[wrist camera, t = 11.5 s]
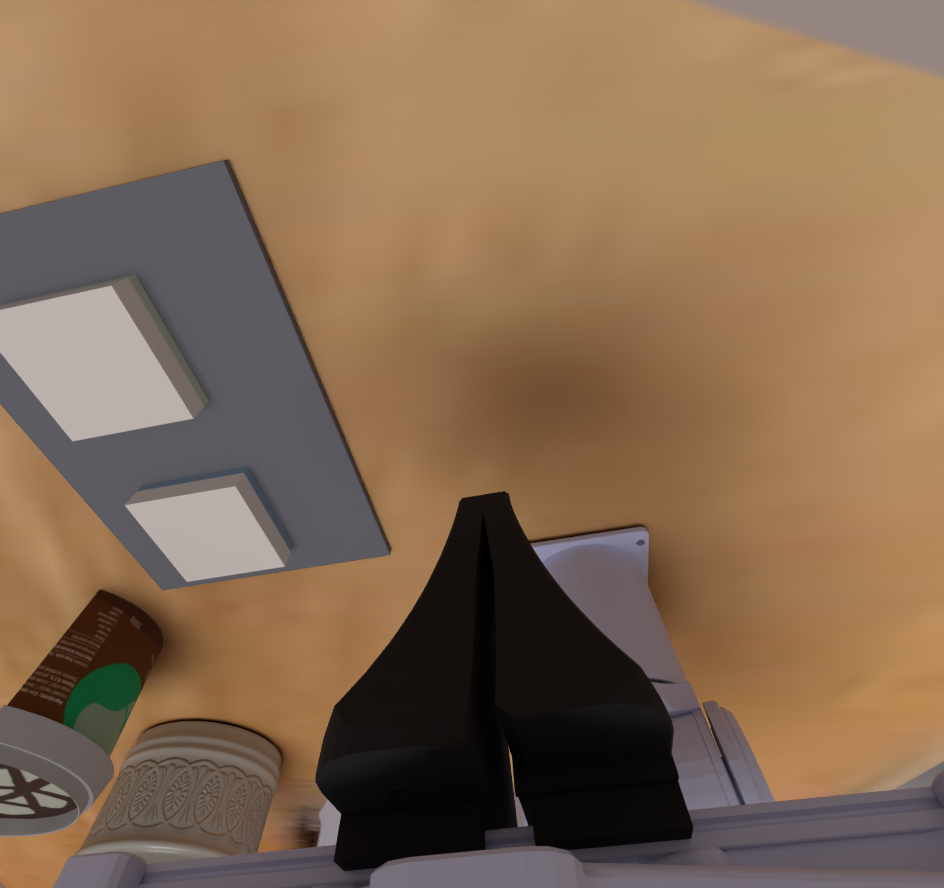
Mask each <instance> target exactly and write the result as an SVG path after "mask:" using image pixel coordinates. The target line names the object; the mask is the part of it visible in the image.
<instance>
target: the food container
mask: <svg viewBox="0 0 944 888" xmlns="http://www.w3.org/2000/svg"><path fill="white" fill-rule="evenodd" d="M162 645H163V637H162V633H161V631H160V629H159V627H158V626H157V624H156V623H155V622H154V621H153V620H152V618H150V617H149V616H148V615H147V614H146V613H145V612H144V611H142V610H141V609H139V608H138V607H136V606H135V605H133V604H131V603H130V602H128V601H126V600H124V599H122V598H120V597H118V596H115V595H113V594H110V593H108V592H105V591H102V590H99V591H98V592H97V594H96V595H95V596H94V597H93V599H92V600H91V601H90V602H89V604H88V605H87V606H86V607H85V609H84V610H83V611H82V612H81V614H80V615H79V616H78V617H77V619H76V620H75V621H74V622H73V624H72V625H71V626H70V627H69V629H68V630H67V631H66V632H65V634H64V635H63V636H62V637H61V639H60V640H59V641H58V642H57V644H56V645H55V646H54V647H53V649H52V650H51V651H50V652H49V654H48V655H47V656H46V657H45V659H44V660H43V661H42V662H41V664H40V665H39V666H38V667H37V669H36V670H35V671H34V672H33V674H32V675H31V676H30V677H29V679H28V680H27V681H26V682H25V684H24V685H23V686H22V687H21V689H20V690H19V691H18V692H17V694H16V695H15V696H14V697H13V699H12V700H11V701H10V702H9V704H8V705H7V706H6V705H4V706H3V707H2V709H1V710H0V836H32V835H40V834H47V833H51V832H56V831H59V830H62V829H64V828H67V827H69V826H70V825H72V824H74V823H75V822H76V820H77V819H78V818H79V816H80V815H81V814H82V813H84V812H85V811H87V810H88V809H89V808H90V807H91V805H92V804H93V803H94V801H95V800H96V799H97V798H98V796H99V795H100V794H101V792H102V791H103V790H104V788H105V787H106V786H107V784H108V783H109V782H110V780H111V779H112V777H113V774H114V766H113V763H112V761H111V759H110V755H111V753H112V751H113V749H114V747H115V745H116V742H117V740H118V738H119V736H120V734H121V732H122V730H123V728H124V726H125V724H126V721H127V719H128V717H129V715H130V713H131V711H132V709H133V707H134V705H135V703H136V701H137V698H138V696H139V694H140V692H141V690H142V688H143V686H144V684H145V682H146V680H147V677H148V675H149V673H150V671H151V669H152V667H153V665H154V663H155V661H156V659H157V657H158V654H159V652H160V650H161V648H162Z"/></svg>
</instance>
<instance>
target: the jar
mask: <svg viewBox="0 0 944 888" xmlns="http://www.w3.org/2000/svg"><path fill="white" fill-rule="evenodd" d="M280 765H281V756H280V753H279V752H278V750H277V749H276V748H275V746H274V745H272V744H271V743H270V742H269V741H267V740H266V739H264V738H263V737H261V736H259V735H257V734H255V733H253V732H250V731H248V730H245V729H242V728H239V727H235V726H231V725H227V724H222V723H215V722H206V721H180V722H172V723H167V724H163V725H159V726H156V727H154V728H151V729H149V730H148V731H146V732H145V733H143V734H142V735H141V736H140V738H139V739H138V741H137V743H136V744H135V746H133V747H132V749H131V750H130V751H129V752H128V754H127V756H126V758H125V761H124V762H123V763H122V765H121V767H120V770H119V775H118V777H117V779H116V781H115V783H114V785H113V787H112V789H111V791H110V793H109V795H108V797H107V799H106V800H105V802H104V804H103V806H102V808H101V810H100V812H99V814H98V816H97V818H96V820H95V822H94V823H93V825H92V827H91V829H90V831H89V833H88V835H87V837H86V839H85V841H84V843H83V845H82V846H81V848H80V850H79V851H78V852H77V853H76V854H75V855H83V854H93V853H103V852H112V851H123V852H129V853H132V854H135V855H137V856H139V857H141V858H142V859H144V860H145V861H146V863H147V864H149V863H160V862H170V861H180V860H190V859H200V858H210V857H220V856H230V855H241V854H251V853H257V851H258V848H259V844H260V840H261V837H262V833H263V830H264V826H265V822H266V819H267V815H268V812H269V808H270V804H271V801H272V798H273V796H274V795H275V793H276V790H277V784H278V782H279V779H280Z"/></svg>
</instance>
